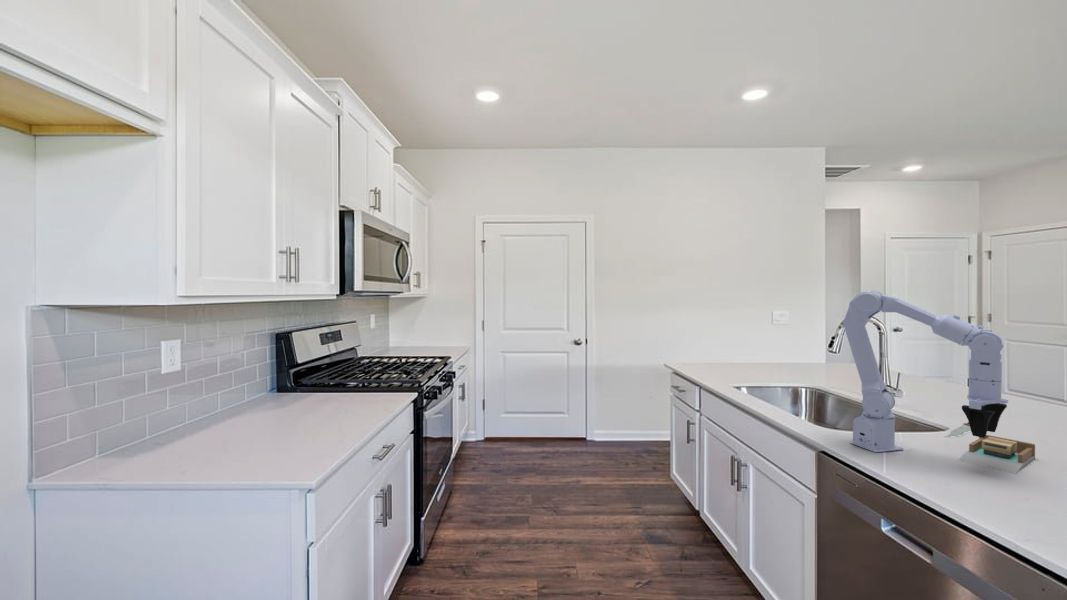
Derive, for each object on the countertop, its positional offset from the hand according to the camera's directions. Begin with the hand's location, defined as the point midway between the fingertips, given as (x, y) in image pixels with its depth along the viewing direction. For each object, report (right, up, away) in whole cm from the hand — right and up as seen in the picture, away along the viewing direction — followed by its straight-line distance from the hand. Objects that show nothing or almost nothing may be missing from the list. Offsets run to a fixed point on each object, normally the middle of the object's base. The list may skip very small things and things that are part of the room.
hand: (983, 433), depth 111 cm
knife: (+24, -8, +29) cm, 38 cm away
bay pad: (+10, -8, +6) cm, 14 cm away
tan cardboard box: (+10, -7, +6) cm, 14 cm away
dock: (+8, -9, +5) cm, 13 cm away
